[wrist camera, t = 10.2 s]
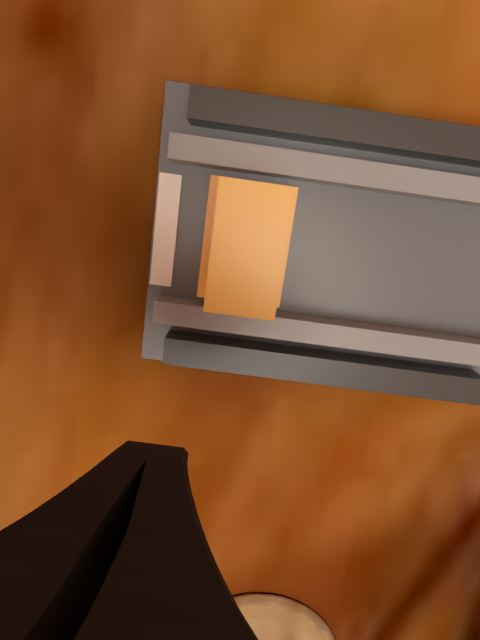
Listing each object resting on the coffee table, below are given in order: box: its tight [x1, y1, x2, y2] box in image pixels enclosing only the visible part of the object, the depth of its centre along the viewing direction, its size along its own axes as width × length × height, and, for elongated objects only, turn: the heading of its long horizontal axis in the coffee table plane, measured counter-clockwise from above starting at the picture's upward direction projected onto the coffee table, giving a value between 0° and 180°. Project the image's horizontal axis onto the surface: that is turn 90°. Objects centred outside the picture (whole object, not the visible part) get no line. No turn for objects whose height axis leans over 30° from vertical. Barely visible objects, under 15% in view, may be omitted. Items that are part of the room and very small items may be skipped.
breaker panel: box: [141, 80, 480, 405], centre depth 16 cm, size 14×10×3 cm
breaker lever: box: [197, 175, 299, 321], centre depth 14 cm, size 3×4×4 cm
